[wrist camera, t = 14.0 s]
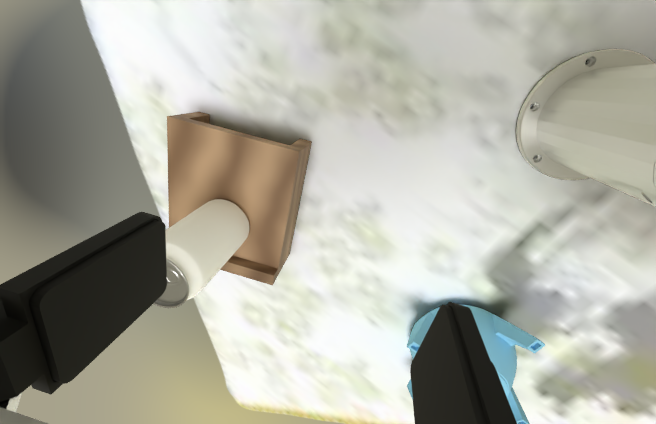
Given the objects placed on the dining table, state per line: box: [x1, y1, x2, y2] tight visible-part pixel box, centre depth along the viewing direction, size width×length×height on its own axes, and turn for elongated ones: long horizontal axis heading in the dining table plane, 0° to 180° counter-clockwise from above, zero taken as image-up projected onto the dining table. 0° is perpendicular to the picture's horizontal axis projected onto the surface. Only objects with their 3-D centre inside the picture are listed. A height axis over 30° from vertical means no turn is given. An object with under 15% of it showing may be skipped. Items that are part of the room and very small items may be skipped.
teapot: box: [407, 304, 545, 424], centre depth 39 cm, size 15×15×11 cm
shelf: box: [167, 112, 312, 285], centre depth 37 cm, size 15×17×8 cm
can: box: [153, 199, 249, 308], centre depth 30 cm, size 6×6×12 cm
